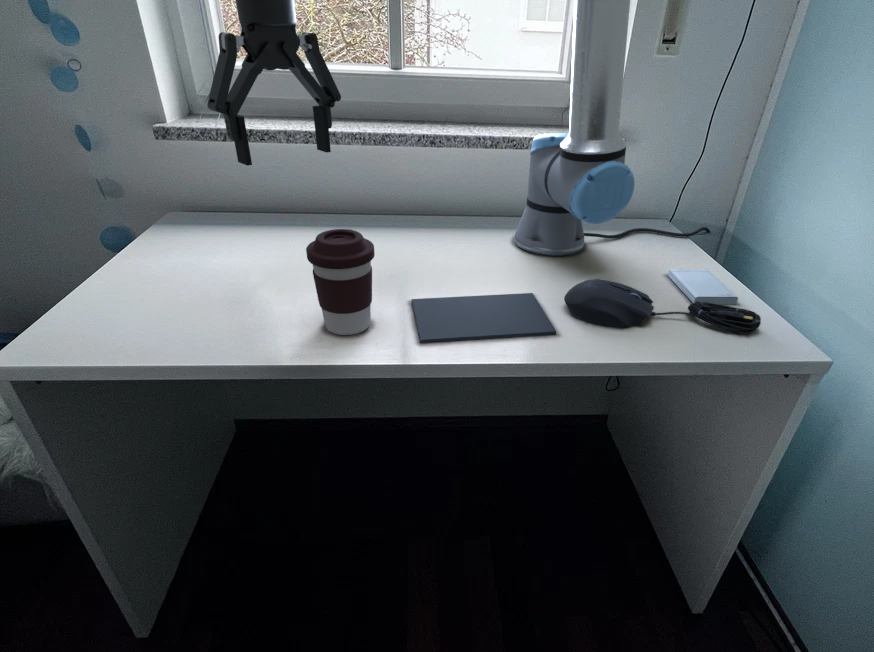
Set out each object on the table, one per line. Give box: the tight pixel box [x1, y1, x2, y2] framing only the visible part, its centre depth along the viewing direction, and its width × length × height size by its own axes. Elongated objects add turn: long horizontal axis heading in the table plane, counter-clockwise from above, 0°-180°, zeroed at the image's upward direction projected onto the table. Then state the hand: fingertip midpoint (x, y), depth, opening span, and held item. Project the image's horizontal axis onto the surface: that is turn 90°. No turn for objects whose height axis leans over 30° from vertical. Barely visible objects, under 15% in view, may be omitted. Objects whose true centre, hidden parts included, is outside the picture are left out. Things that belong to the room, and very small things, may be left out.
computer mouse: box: [563, 278, 762, 334], centre depth 92 cm, size 10×32×6 cm, turn 82°
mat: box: [411, 292, 557, 344], centre depth 92 cm, size 22×14×1 cm, turn 100°
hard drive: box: [667, 268, 739, 306], centre depth 104 cm, size 2×8×12 cm
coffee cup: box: [305, 228, 376, 336], centre depth 84 cm, size 10×10×15 cm
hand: (286, 157), depth 84 cm, fingers open, 13 cm apart
